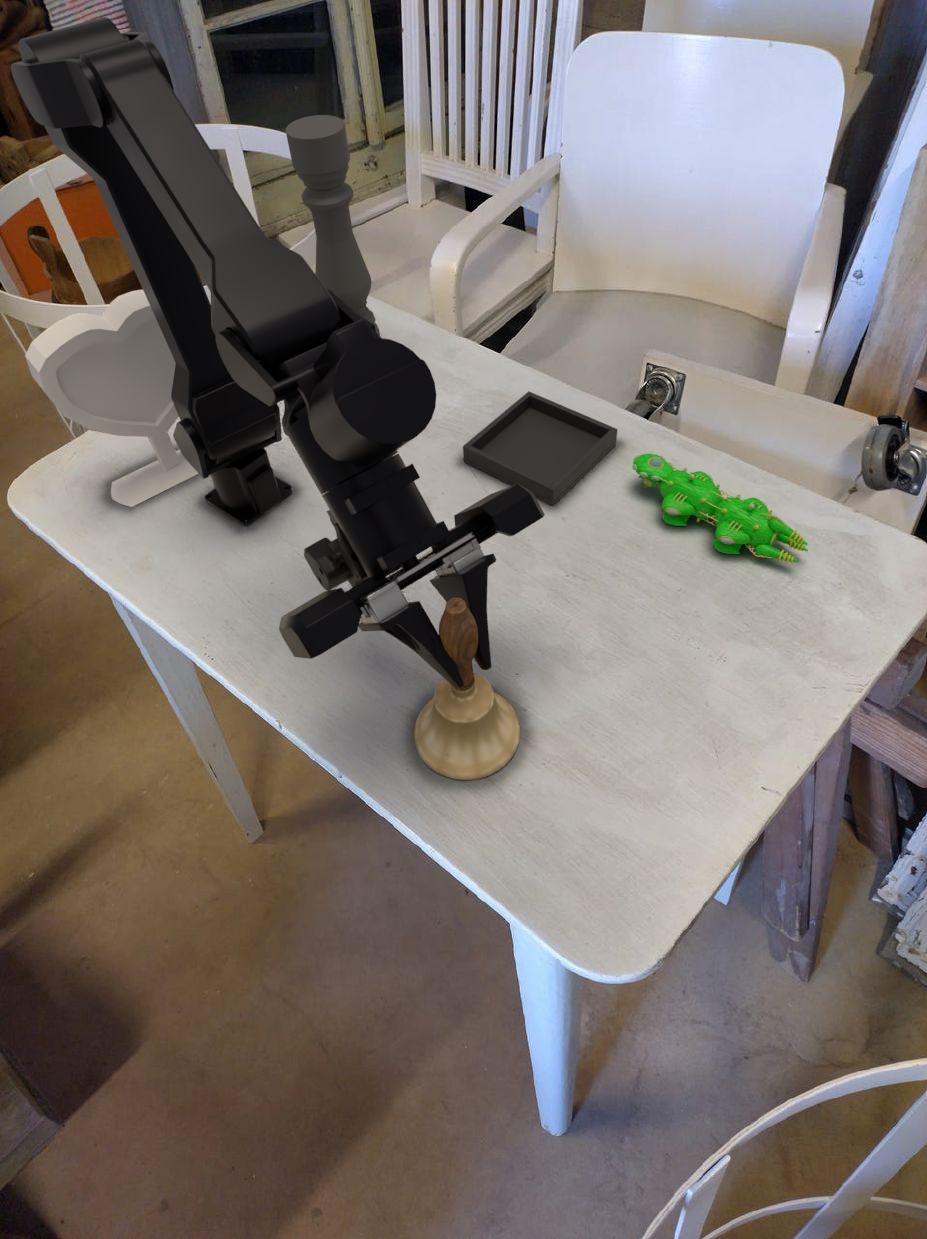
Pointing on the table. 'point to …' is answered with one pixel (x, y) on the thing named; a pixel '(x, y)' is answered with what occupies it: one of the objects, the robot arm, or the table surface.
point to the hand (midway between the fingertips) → (473, 677)
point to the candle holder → (330, 207)
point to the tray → (540, 447)
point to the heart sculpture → (115, 385)
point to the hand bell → (465, 710)
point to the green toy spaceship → (717, 510)
